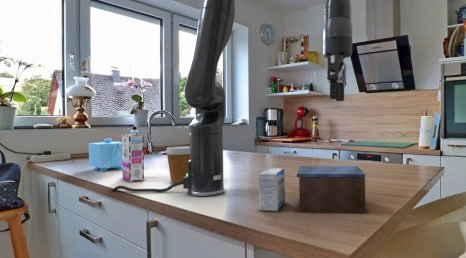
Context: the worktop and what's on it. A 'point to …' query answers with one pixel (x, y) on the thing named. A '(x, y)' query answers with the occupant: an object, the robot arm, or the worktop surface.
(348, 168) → the chest lid
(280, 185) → the medicine box
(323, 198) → the chest
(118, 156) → the teapot
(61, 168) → the worktop surface
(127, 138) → the candy bar box
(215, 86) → the robot arm
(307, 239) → the worktop surface
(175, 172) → the disposable coffee cup
